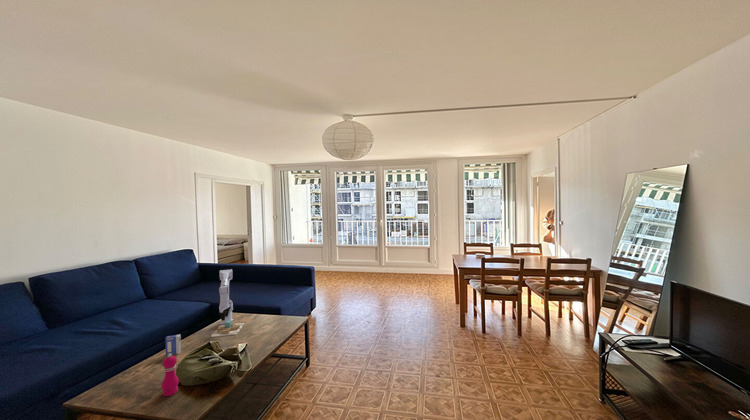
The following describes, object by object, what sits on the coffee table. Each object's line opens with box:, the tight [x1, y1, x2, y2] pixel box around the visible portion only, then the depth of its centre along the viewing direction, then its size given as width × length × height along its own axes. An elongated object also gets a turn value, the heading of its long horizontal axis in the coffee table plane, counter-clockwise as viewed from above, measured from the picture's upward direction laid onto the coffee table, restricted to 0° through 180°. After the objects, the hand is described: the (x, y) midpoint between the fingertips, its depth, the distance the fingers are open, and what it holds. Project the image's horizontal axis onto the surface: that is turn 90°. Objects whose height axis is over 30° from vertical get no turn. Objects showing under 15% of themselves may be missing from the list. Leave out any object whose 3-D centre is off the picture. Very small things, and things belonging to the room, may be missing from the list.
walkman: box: [164, 333, 182, 357], centre depth 183 cm, size 8×3×12 cm, turn 110°
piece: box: [223, 320, 233, 328], centre depth 218 cm, size 4×4×6 cm
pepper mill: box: [161, 354, 180, 397], centre depth 144 cm, size 7×7×20 cm
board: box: [210, 321, 245, 338], centre depth 218 cm, size 20×18×3 cm
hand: (224, 318), depth 218 cm, fingers open, 7 cm apart
